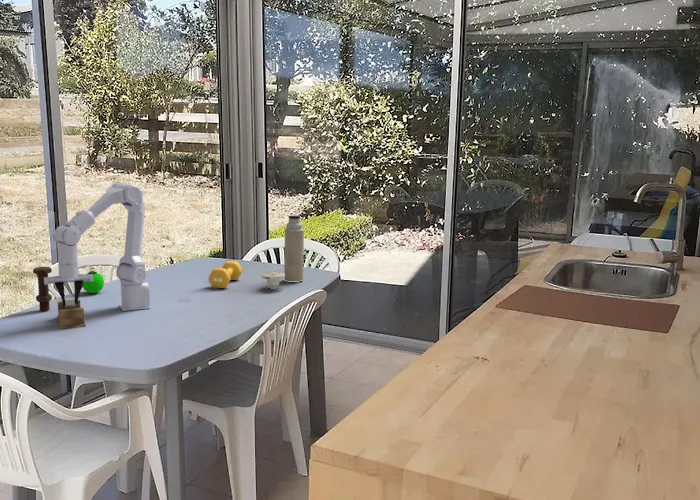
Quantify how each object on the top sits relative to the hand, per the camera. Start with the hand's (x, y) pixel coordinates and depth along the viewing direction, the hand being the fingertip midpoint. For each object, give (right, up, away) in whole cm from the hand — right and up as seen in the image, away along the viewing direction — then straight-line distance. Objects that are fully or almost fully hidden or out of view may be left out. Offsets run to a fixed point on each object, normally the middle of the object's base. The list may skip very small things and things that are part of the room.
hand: (70, 303), depth 213 cm
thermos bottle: (+67, +4, +66) cm, 94 cm away
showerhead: (+60, +2, +51) cm, 79 cm away
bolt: (-14, -4, +13) cm, 19 cm away
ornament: (-7, +1, +37) cm, 38 cm away
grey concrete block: (0, -5, +1) cm, 5 cm away
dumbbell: (+40, +3, +57) cm, 70 cm away
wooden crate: (0, -6, +1) cm, 6 cm away
